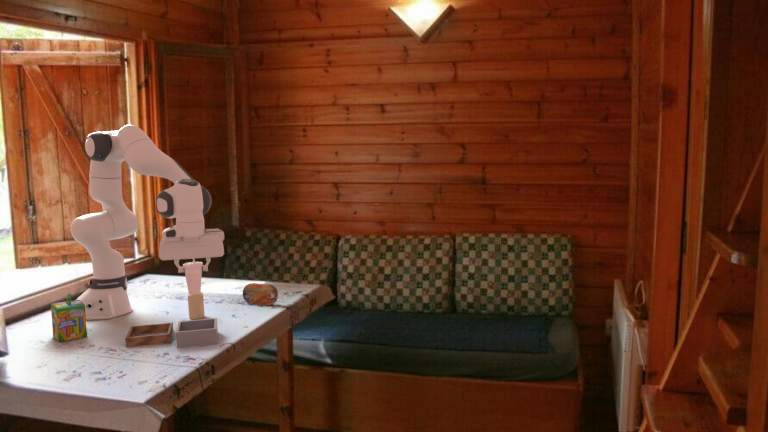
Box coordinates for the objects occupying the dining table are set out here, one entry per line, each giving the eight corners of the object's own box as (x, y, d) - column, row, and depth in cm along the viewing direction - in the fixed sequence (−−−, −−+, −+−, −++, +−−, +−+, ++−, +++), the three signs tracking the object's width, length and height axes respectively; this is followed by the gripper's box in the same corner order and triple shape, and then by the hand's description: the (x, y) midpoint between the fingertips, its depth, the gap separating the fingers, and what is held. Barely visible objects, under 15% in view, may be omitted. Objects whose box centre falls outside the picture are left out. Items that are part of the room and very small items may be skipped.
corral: (125, 347, 211) (125, 338, 210) (131, 334, 224) (131, 326, 224) (170, 343, 214) (169, 334, 214) (173, 330, 227) (172, 322, 227)
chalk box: (52, 336, 224) (48, 294, 222) (81, 331, 230) (77, 289, 228) (58, 343, 217) (54, 299, 215) (88, 337, 223) (84, 294, 221)
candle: (200, 319, 240) (198, 292, 239) (186, 319, 241) (184, 292, 240) (207, 315, 245) (205, 289, 244) (193, 314, 247) (191, 288, 245)
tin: (242, 303, 261) (241, 283, 260) (247, 301, 264) (246, 281, 263) (275, 306, 255) (274, 285, 254) (279, 304, 258) (278, 283, 257)
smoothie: (193, 295, 210) (191, 252, 208) (180, 293, 214) (177, 251, 212) (208, 291, 216) (206, 249, 214) (195, 289, 219) (192, 248, 217)
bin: (176, 347, 209) (175, 332, 208) (179, 335, 221) (178, 321, 221) (217, 343, 212) (216, 328, 211) (217, 332, 224) (216, 318, 224)
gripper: (223, 226, 217) (226, 267, 219) (158, 230, 213) (161, 272, 214) (223, 229, 211) (226, 271, 213) (156, 233, 207) (159, 276, 208)
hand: (193, 271), depth 214 cm, fingers closed on smoothie, 6 cm apart
